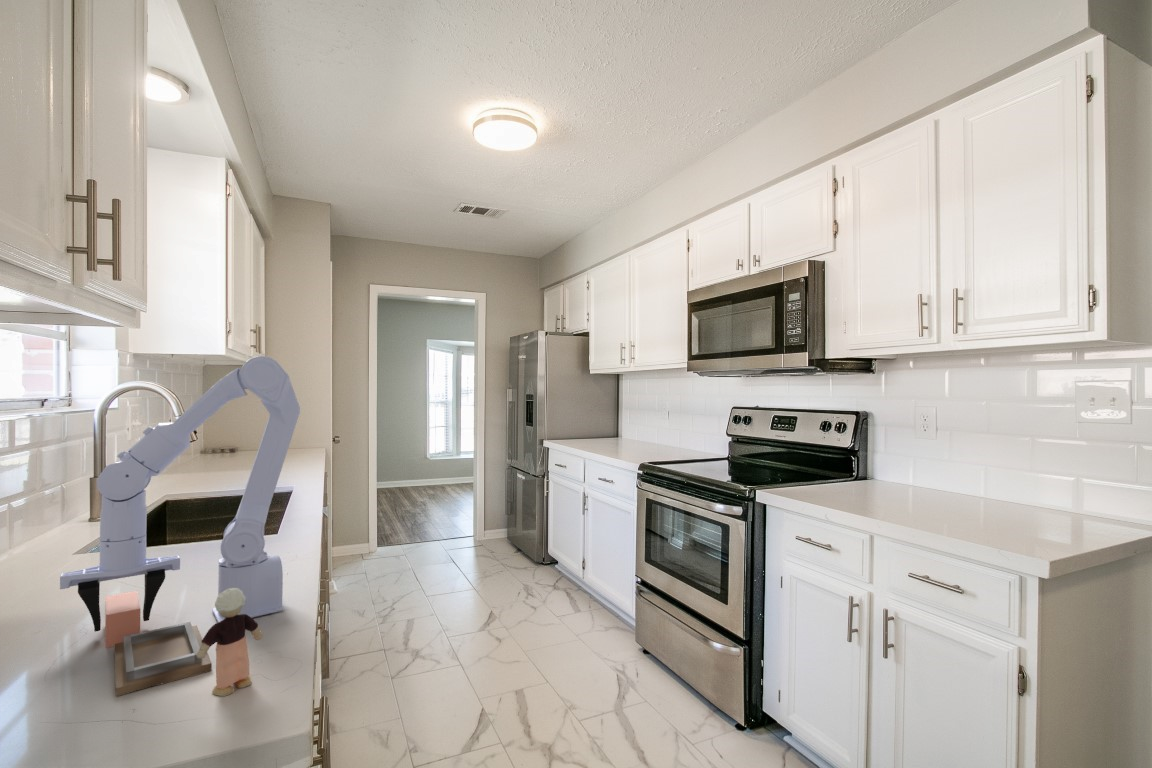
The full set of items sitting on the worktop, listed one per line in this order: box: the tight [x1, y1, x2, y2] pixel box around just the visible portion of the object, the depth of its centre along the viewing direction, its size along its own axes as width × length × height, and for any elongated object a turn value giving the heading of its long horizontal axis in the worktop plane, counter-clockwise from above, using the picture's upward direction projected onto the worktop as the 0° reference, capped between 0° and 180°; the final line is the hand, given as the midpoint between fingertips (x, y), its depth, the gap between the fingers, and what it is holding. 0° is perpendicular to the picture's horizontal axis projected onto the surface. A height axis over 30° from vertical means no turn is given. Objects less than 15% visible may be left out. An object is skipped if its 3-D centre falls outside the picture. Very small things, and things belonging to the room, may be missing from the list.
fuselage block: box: [104, 590, 141, 649], centre depth 87 cm, size 4×10×5 cm, turn 41°
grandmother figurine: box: [196, 588, 264, 697], centre depth 71 cm, size 8×4×13 cm, turn 159°
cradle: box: [114, 621, 213, 697], centre depth 78 cm, size 10×16×2 cm, turn 40°
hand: (122, 623), depth 87 cm, fingers open, 5 cm apart
